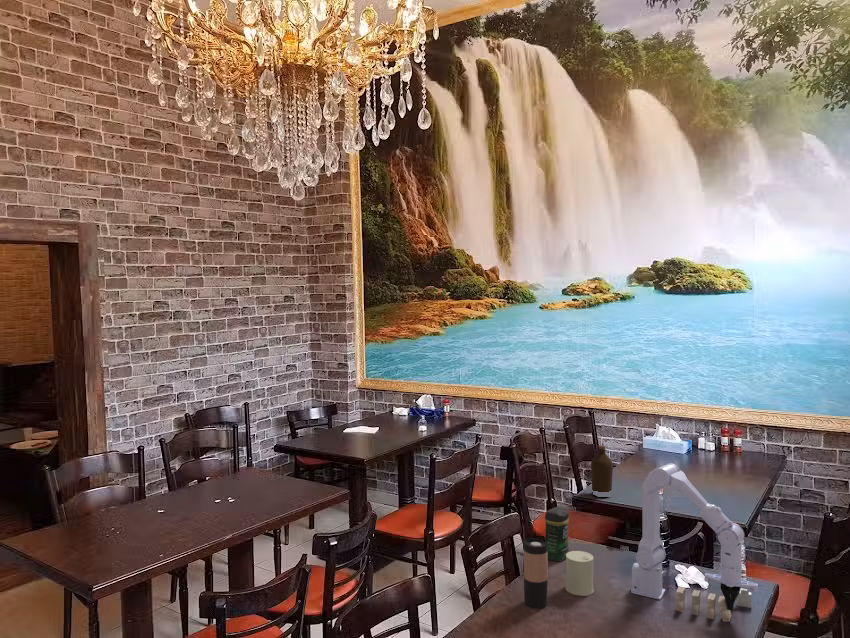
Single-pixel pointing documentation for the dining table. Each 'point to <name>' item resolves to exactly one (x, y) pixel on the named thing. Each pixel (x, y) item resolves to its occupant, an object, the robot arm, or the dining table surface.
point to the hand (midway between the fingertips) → (730, 609)
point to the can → (579, 573)
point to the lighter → (744, 598)
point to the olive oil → (601, 471)
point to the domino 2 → (695, 602)
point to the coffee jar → (557, 533)
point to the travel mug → (535, 573)
